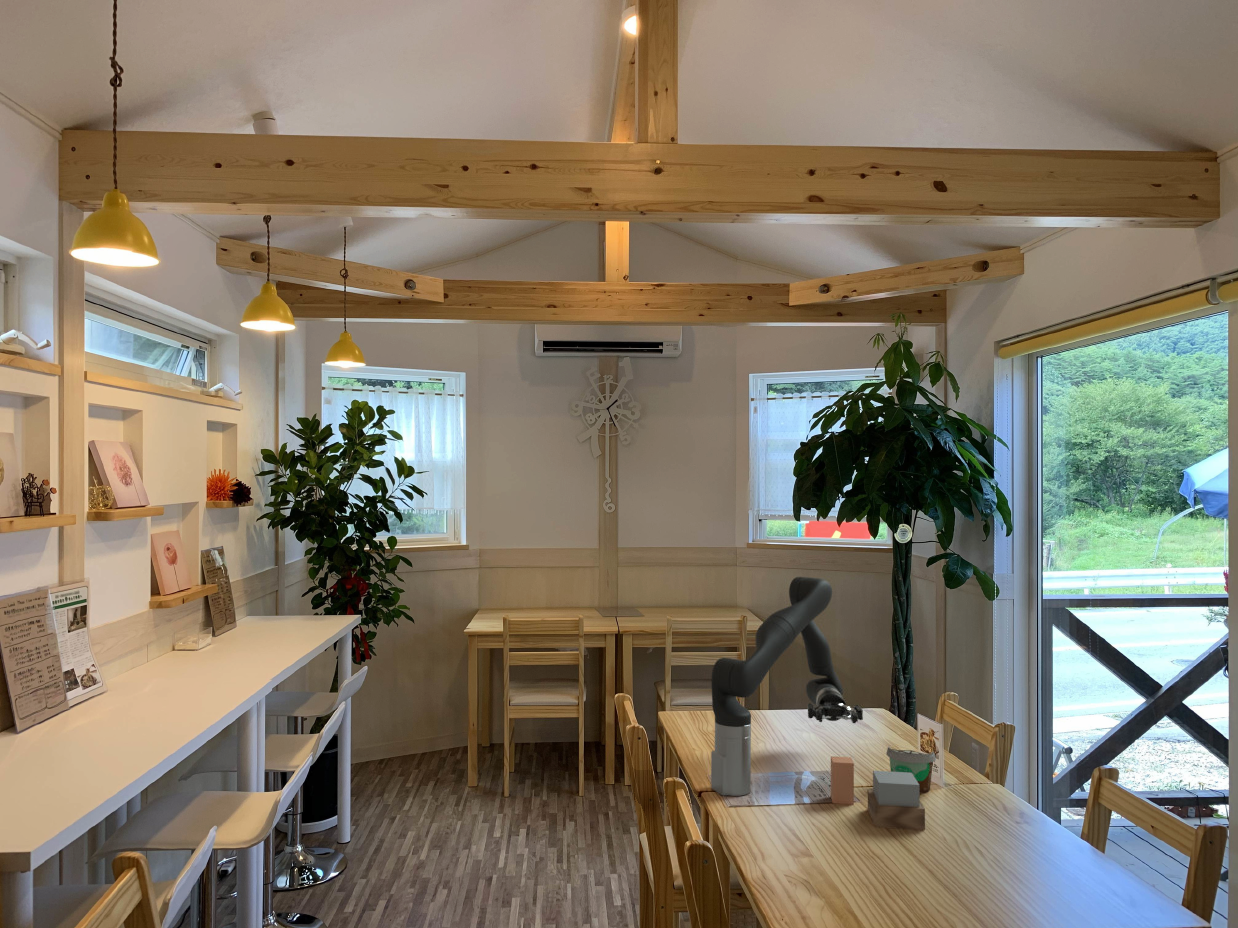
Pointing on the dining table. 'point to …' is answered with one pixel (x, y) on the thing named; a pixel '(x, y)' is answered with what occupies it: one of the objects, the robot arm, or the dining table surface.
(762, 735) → the dining table surface
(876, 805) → the walnut base slab
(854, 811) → the dining table surface
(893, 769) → the food container
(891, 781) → the slate top slab
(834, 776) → the terracotta pillar
